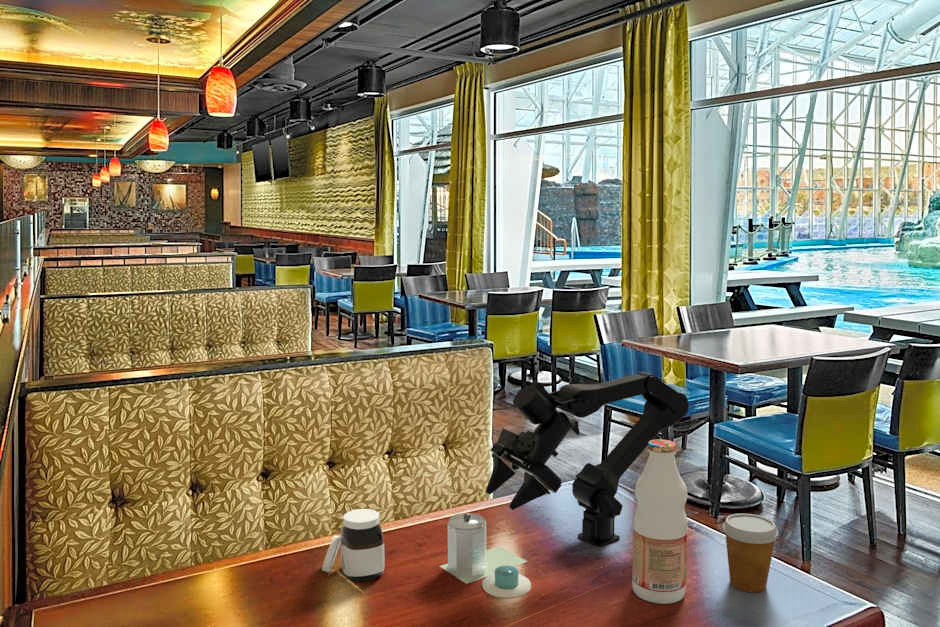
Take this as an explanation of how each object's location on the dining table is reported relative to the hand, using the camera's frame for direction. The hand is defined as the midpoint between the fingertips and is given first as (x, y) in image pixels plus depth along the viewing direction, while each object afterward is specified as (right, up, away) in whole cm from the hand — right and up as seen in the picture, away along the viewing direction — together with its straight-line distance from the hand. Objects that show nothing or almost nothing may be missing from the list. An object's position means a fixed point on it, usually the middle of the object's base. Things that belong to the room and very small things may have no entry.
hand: (498, 500), depth 147 cm
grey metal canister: (-6, -13, -2) cm, 14 cm away
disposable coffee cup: (+46, -14, -8) cm, 49 cm away
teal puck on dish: (+1, -14, -8) cm, 16 cm away
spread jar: (-28, -14, -2) cm, 32 cm away
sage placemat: (-3, -13, +1) cm, 13 cm away
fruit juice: (+29, -14, -10) cm, 34 cm away
